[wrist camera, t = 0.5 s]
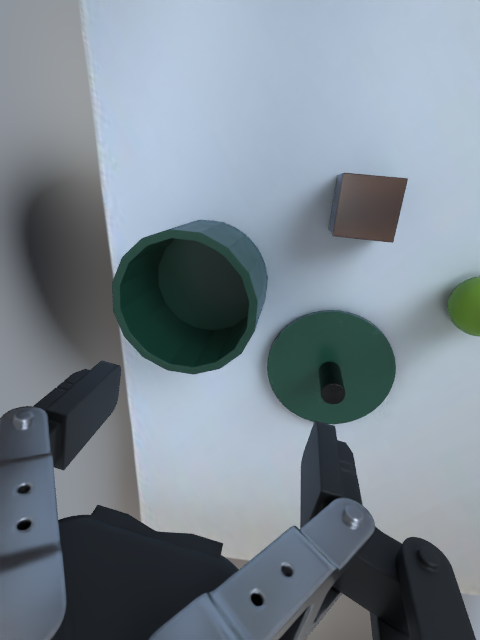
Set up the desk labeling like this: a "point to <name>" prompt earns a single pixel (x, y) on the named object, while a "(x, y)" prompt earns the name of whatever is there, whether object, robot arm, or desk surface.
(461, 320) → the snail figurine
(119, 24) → the desk surface
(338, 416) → the lid
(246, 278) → the canister
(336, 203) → the block
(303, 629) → the robot arm
